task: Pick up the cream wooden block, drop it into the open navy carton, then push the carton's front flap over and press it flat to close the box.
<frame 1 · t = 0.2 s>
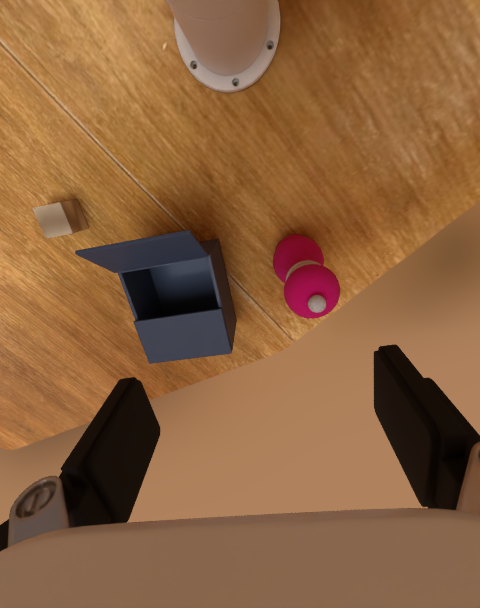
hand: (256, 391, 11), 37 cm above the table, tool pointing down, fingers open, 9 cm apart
pepper mill: (294, 253, 46), on the table
carton: (191, 288, 49), on the table
flap: (147, 254, 34), point 13 cm above the table, hinge at 125.0°
block: (70, 216, 45), on the table
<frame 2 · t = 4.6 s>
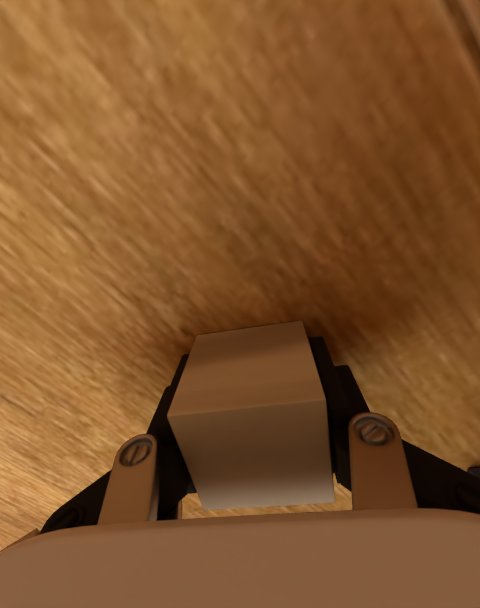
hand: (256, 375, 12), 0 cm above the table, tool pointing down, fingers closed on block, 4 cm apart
block: (256, 370, 13), on the table, touching gripper
when the fingers open (10 cm above the table, at t = 11.0 s): block drops 9 cm, resting on carton.
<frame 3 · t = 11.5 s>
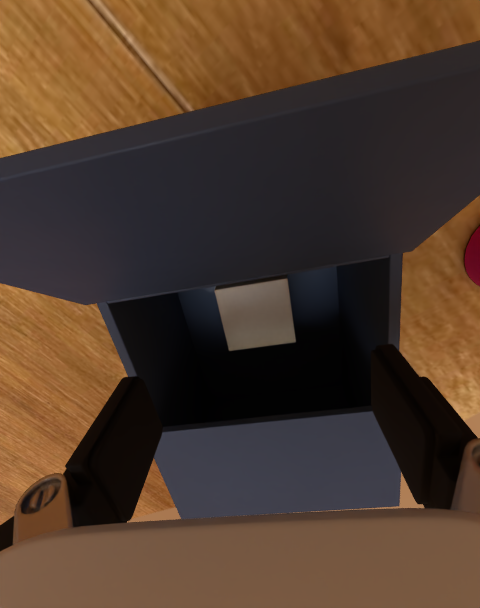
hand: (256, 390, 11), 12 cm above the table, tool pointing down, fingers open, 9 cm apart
carton: (262, 322, 23), on the table
flap: (213, 237, 8), point 13 cm above the table, hinge at 125.0°
block: (256, 290, 22), resting on carton
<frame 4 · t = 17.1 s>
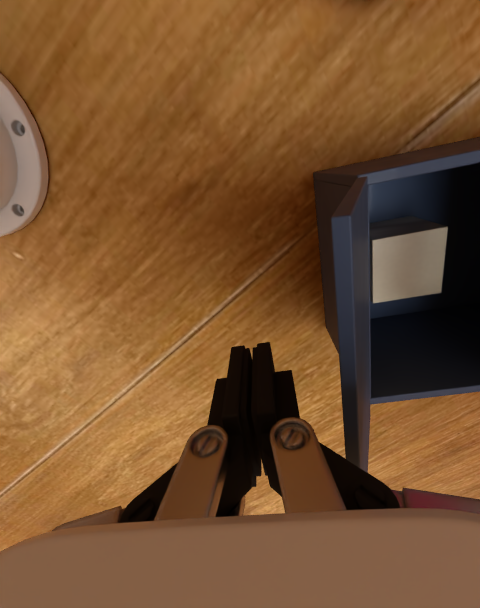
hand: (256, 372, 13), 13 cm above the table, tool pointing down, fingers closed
carton: (417, 241, 22), on the table
flap: (359, 364, 11), point 14 cm above the table, hinge at 111.8°
block: (380, 249, 22), resting on carton
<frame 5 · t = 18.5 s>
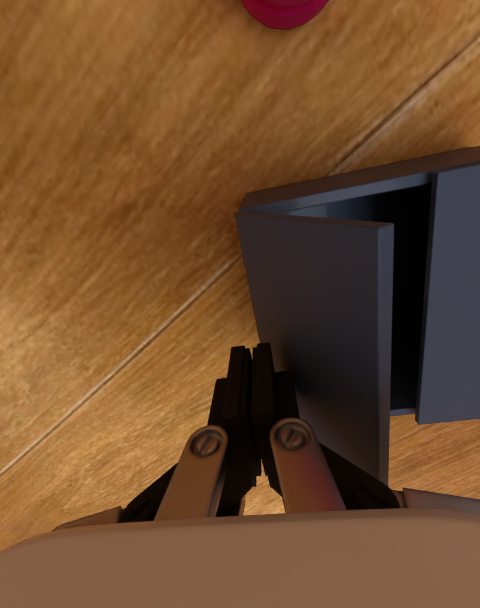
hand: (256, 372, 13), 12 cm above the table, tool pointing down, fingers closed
carton: (354, 260, 23), on the table
flap: (306, 386, 11), point 13 cm above the table, hinge at 64.5°, touching gripper
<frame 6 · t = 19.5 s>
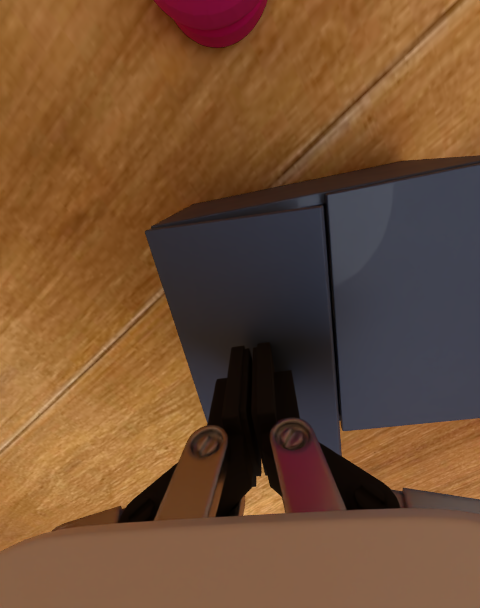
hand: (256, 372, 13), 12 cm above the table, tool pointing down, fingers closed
carton: (302, 269, 23), on the table
flap: (251, 362, 13), point 12 cm above the table, hinge at 22.7°, touching gripper
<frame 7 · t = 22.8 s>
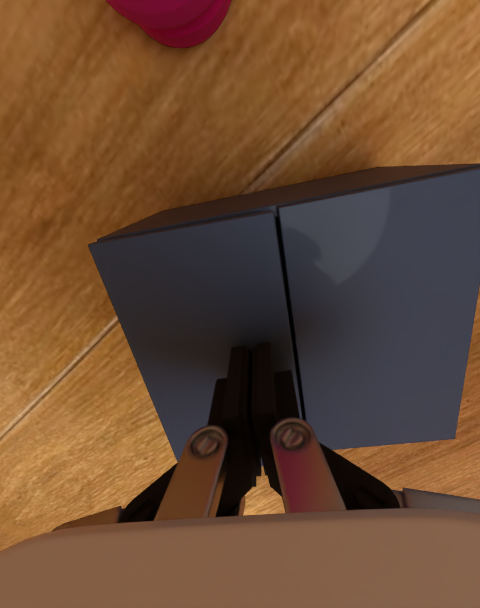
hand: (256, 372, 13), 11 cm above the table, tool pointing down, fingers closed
carton: (278, 277, 22), on the table
flap: (214, 368, 13), point 11 cm above the table, hinge at 6.6°, touching gripper
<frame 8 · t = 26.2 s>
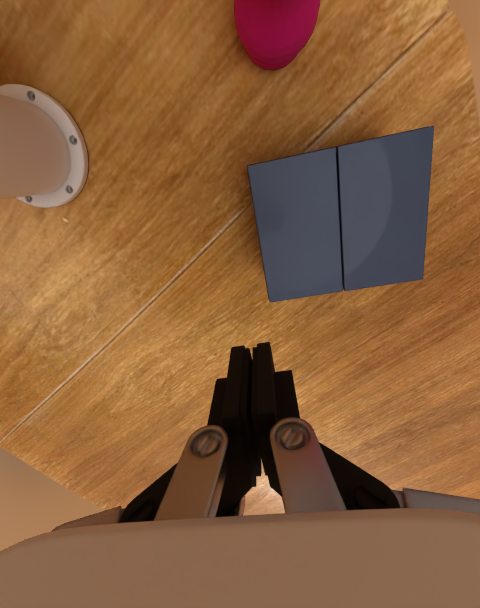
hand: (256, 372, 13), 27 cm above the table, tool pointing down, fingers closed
pepper mill: (273, 32, 29), on the table
carton: (318, 211, 35), on the table
flap: (298, 233, 27), point 10 cm above the table, hinge at -0.6°
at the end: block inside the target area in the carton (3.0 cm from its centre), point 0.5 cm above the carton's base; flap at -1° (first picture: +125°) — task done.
